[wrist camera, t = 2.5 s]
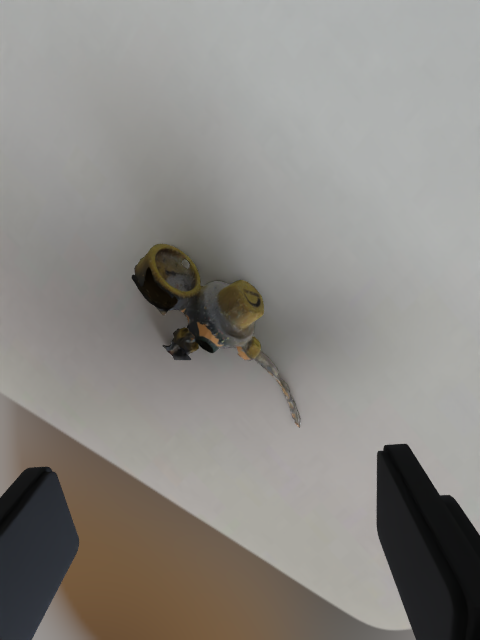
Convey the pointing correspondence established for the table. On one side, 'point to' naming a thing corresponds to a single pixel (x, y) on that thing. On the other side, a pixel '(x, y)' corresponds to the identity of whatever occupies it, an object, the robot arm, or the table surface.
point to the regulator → (205, 309)
